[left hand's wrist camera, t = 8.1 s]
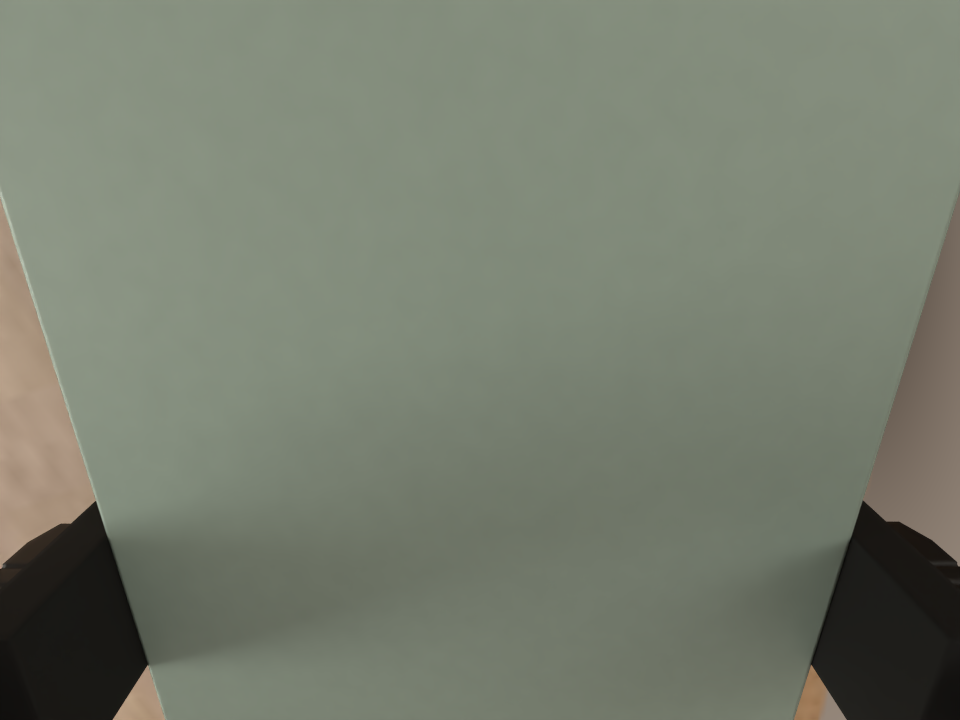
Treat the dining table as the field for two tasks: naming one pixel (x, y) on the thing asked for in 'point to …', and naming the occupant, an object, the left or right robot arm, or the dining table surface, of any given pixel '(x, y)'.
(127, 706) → the dining table surface
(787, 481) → the cabinet
